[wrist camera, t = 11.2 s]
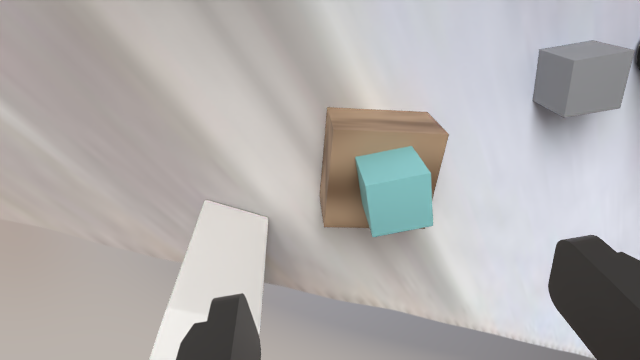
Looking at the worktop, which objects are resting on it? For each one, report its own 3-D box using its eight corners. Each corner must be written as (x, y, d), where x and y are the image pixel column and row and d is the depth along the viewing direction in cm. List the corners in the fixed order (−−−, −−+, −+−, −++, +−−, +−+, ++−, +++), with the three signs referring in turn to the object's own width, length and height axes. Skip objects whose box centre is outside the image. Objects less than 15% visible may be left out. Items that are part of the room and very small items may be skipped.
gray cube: (538, 49, 35) (574, 60, 31) (591, 40, 35) (634, 50, 31) (532, 100, 38) (564, 117, 34) (581, 92, 38) (620, 108, 33)
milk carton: (249, 263, 45) (228, 433, 29) (189, 247, 43) (129, 420, 27) (268, 216, 42) (257, 377, 26) (205, 198, 40) (148, 357, 24)
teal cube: (355, 157, 33) (365, 185, 29) (411, 145, 33) (430, 173, 28) (362, 204, 35) (372, 237, 31) (414, 193, 35) (433, 225, 31)
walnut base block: (327, 106, 37) (333, 129, 32) (426, 111, 38) (448, 134, 33) (319, 194, 42) (324, 227, 36) (407, 196, 43) (424, 228, 37)
